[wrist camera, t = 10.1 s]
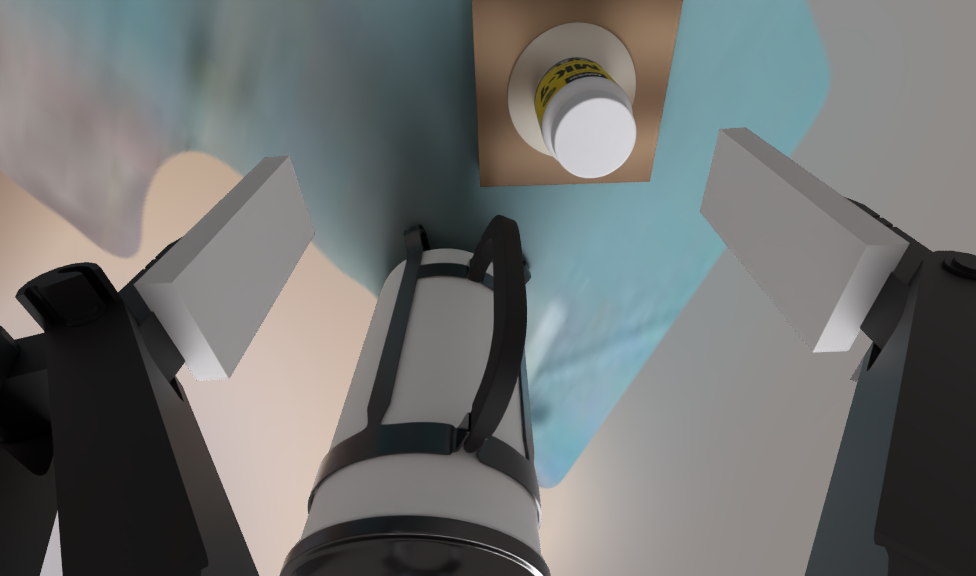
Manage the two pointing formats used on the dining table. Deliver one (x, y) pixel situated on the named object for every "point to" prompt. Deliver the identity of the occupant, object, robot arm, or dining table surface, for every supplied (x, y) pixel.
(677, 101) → the dining table surface
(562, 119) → the supplement bottle
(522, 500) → the coffee press
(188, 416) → the robot arm
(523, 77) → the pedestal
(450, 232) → the dining table surface
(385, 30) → the dining table surface
